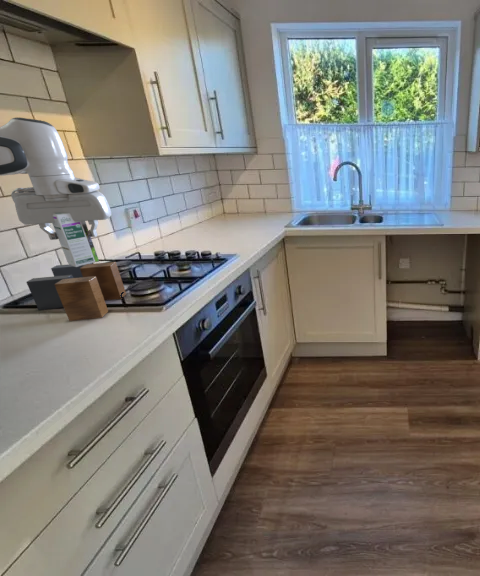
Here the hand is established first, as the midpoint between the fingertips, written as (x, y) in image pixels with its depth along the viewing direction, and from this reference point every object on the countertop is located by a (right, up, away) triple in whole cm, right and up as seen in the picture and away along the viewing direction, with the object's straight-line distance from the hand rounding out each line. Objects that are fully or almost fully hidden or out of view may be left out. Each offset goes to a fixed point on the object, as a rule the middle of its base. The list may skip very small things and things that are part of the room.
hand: (74, 237), depth 100 cm
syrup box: (0, -7, +3) cm, 8 cm away
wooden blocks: (+1, -19, +8) cm, 21 cm away
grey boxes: (-14, -17, +15) cm, 26 cm away
